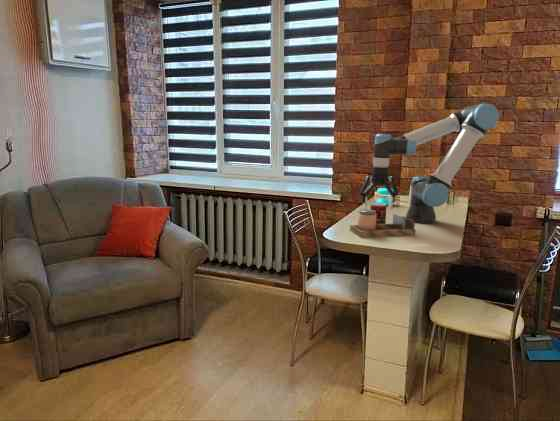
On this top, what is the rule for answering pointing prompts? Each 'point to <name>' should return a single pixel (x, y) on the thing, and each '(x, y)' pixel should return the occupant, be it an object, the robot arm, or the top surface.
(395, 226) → the bar
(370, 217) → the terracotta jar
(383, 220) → the canned food
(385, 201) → the donuts
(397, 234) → the wooden box
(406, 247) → the top surface
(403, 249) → the top surface
